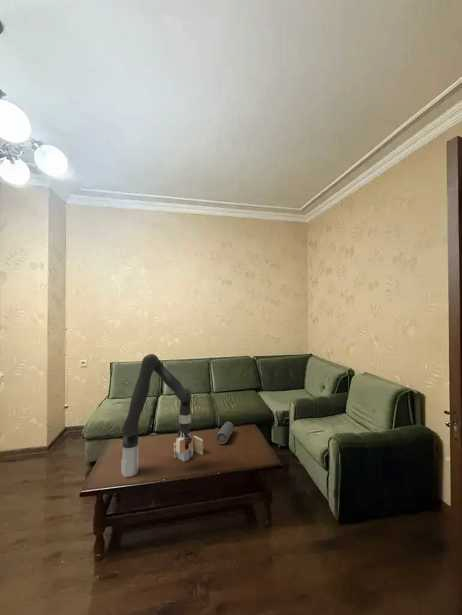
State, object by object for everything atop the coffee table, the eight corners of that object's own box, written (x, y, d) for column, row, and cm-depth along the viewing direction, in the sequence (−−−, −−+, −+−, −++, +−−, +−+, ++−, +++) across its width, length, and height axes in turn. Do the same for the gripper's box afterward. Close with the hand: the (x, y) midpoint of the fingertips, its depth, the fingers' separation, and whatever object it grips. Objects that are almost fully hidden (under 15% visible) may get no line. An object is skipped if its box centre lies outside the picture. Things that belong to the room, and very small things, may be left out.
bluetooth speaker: (227, 446, 203) (227, 432, 204) (215, 445, 206) (215, 431, 206) (234, 433, 225) (234, 421, 226) (223, 432, 228) (223, 420, 228)
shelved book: (183, 461, 182) (183, 449, 182) (177, 457, 188) (177, 445, 188) (188, 459, 185) (188, 447, 185) (182, 455, 190) (182, 443, 191)
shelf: (182, 463, 180) (182, 448, 180) (173, 458, 187) (173, 443, 187) (203, 454, 192) (203, 439, 192) (194, 449, 199) (194, 435, 200)
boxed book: (179, 454, 169) (180, 440, 169) (175, 451, 172) (176, 438, 173) (192, 448, 176) (193, 436, 176) (188, 446, 179) (189, 434, 179)
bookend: (188, 458, 186) (188, 445, 186) (182, 455, 191) (182, 442, 191) (192, 456, 189) (192, 443, 189) (187, 453, 193) (187, 440, 194)
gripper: (173, 419, 177) (173, 446, 177) (186, 425, 167) (186, 454, 166) (183, 416, 183) (183, 442, 182) (196, 422, 172) (195, 450, 172)
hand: (184, 447), depth 174 cm, fingers closed on boxed book, 4 cm apart
